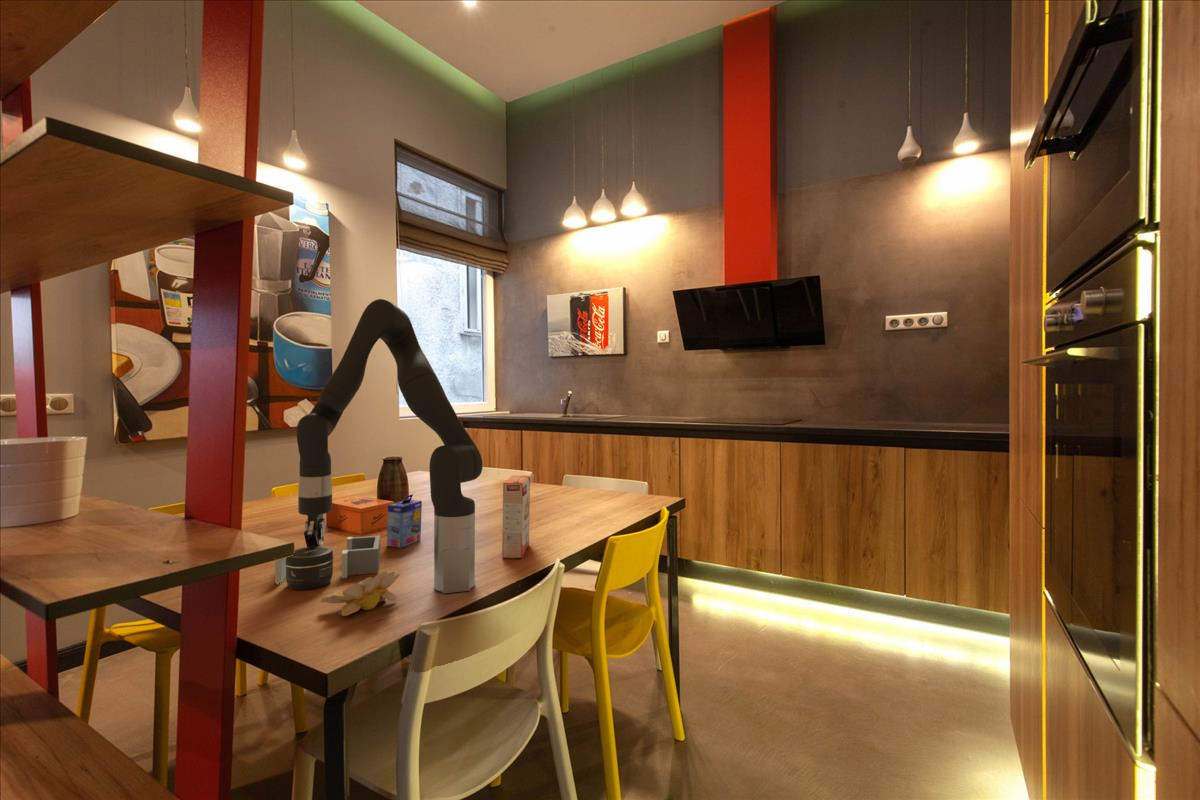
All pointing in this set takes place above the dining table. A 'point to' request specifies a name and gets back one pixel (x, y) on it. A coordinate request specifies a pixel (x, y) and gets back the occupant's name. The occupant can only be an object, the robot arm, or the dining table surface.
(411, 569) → the dining table surface
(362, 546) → the channel
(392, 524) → the ink cartridge box
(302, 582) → the jar
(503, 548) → the cracker box
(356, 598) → the decorative flower
